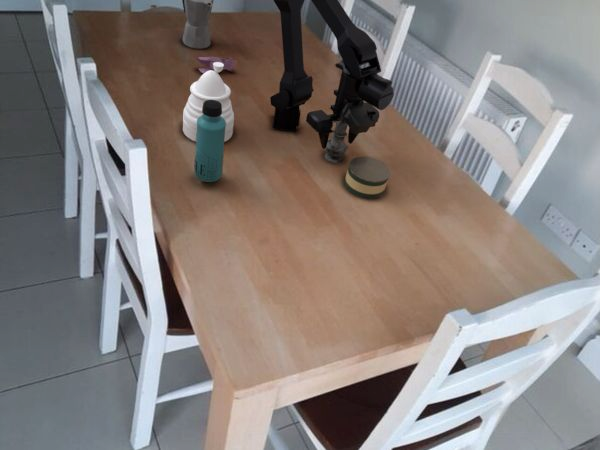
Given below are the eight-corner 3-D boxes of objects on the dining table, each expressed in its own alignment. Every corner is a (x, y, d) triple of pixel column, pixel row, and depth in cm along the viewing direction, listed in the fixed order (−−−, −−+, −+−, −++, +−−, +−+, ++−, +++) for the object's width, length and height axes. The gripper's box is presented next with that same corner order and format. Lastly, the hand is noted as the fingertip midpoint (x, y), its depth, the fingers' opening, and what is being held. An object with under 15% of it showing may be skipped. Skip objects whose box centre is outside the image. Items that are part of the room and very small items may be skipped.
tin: (345, 196, 134) (350, 178, 130) (342, 171, 141) (347, 154, 138) (387, 200, 135) (393, 183, 132) (381, 176, 143) (387, 159, 139)
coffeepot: (220, 48, 183) (224, -7, 172) (196, 53, 178) (199, -4, 166) (192, 30, 191) (194, -25, 179) (168, 34, 185) (169, -22, 173)
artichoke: (200, 56, 164) (238, 57, 170) (196, 53, 167) (233, 54, 173) (199, 74, 167) (237, 74, 172) (195, 70, 170) (232, 70, 175)
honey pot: (211, 112, 152) (216, 50, 141) (242, 135, 146) (249, 71, 135) (172, 125, 144) (173, 60, 133) (203, 149, 138) (207, 83, 127)
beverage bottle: (226, 176, 132) (233, 101, 119) (214, 191, 127) (220, 114, 114) (201, 167, 133) (206, 92, 120) (188, 182, 128) (191, 104, 115)
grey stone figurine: (343, 165, 143) (353, 125, 135) (320, 160, 143) (330, 119, 136) (346, 154, 148) (356, 114, 140) (324, 148, 148) (333, 108, 140)
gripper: (336, 113, 124) (323, 170, 134) (400, 102, 133) (383, 156, 143) (310, 89, 131) (299, 145, 141) (372, 80, 140) (358, 133, 150)
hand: (336, 145), depth 143 cm, fingers closed on grey stone figurine, 8 cm apart
